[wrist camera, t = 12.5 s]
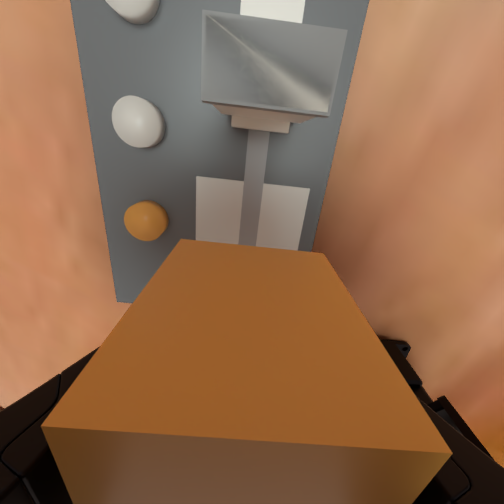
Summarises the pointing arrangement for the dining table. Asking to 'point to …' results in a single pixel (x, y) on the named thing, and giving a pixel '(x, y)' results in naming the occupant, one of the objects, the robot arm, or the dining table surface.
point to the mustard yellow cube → (243, 393)
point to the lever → (268, 69)
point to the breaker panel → (196, 135)
